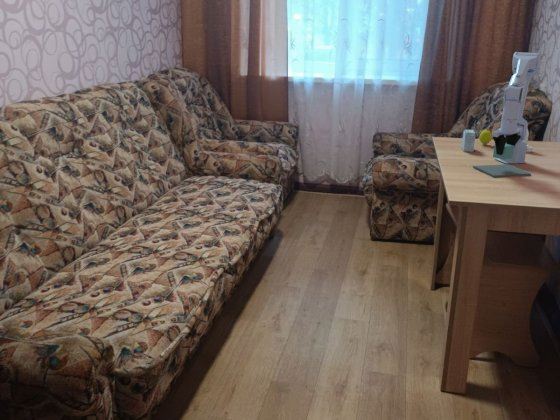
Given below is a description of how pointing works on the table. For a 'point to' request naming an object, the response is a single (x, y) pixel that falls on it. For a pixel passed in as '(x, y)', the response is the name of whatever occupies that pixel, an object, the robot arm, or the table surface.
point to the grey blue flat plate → (501, 170)
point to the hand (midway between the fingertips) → (504, 153)
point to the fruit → (485, 137)
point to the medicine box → (468, 140)
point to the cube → (505, 152)
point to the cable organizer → (526, 143)
